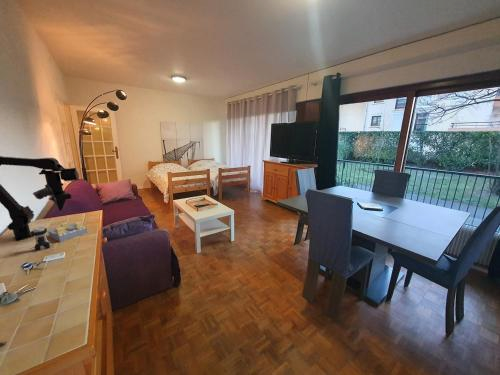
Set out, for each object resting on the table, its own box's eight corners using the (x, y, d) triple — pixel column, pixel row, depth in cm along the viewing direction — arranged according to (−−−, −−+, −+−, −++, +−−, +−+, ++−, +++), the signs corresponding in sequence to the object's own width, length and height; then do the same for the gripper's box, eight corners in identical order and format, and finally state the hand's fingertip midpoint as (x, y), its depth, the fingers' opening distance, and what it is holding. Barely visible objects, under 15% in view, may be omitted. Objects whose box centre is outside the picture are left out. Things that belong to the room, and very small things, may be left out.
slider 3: (75, 228, 112) (74, 223, 111) (81, 226, 114) (80, 221, 113) (77, 229, 110) (76, 223, 110) (83, 227, 113) (82, 222, 112)
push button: (29, 253, 93) (24, 232, 90) (32, 248, 97) (27, 228, 95) (50, 249, 96) (45, 229, 94) (52, 244, 101) (47, 225, 98)
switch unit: (49, 236, 110) (47, 230, 109) (75, 228, 120) (74, 222, 119) (60, 242, 103) (58, 235, 102) (87, 233, 113) (86, 227, 112)
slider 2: (61, 228, 111) (60, 223, 110) (68, 226, 113) (67, 221, 113) (63, 229, 110) (62, 224, 109) (70, 227, 112) (68, 222, 111)
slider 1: (56, 234, 105) (55, 228, 104) (63, 231, 107) (62, 226, 106) (58, 235, 103) (57, 229, 103) (65, 232, 106) (64, 227, 105)
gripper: (26, 183, 107) (33, 212, 111) (40, 186, 98) (47, 218, 102) (54, 179, 117) (60, 206, 120) (69, 182, 108) (75, 211, 111)
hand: (60, 210), depth 113 cm, fingers closed
